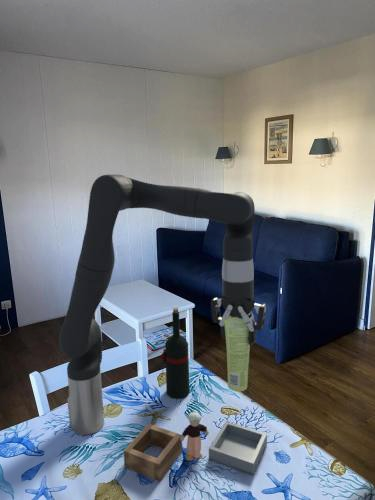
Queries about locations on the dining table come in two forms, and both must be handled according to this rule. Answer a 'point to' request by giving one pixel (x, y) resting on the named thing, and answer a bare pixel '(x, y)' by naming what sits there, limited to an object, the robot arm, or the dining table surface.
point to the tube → (237, 352)
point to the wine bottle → (176, 362)
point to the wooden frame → (149, 464)
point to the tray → (238, 447)
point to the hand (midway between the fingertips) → (238, 341)
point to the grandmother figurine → (194, 436)
